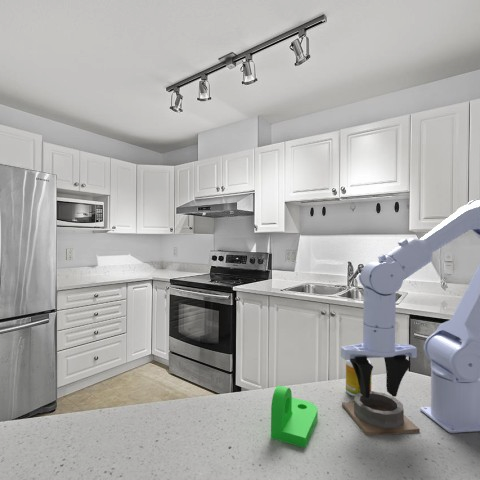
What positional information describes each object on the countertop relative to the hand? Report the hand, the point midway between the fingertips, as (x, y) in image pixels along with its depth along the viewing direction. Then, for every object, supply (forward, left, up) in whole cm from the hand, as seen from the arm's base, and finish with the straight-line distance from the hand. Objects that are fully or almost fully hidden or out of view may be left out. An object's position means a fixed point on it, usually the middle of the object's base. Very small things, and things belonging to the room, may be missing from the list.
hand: (378, 394), depth 61 cm
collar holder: (0, 0, -4) cm, 4 cm away
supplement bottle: (-1, -10, -5) cm, 11 cm away
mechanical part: (+16, +1, -5) cm, 17 cm away
